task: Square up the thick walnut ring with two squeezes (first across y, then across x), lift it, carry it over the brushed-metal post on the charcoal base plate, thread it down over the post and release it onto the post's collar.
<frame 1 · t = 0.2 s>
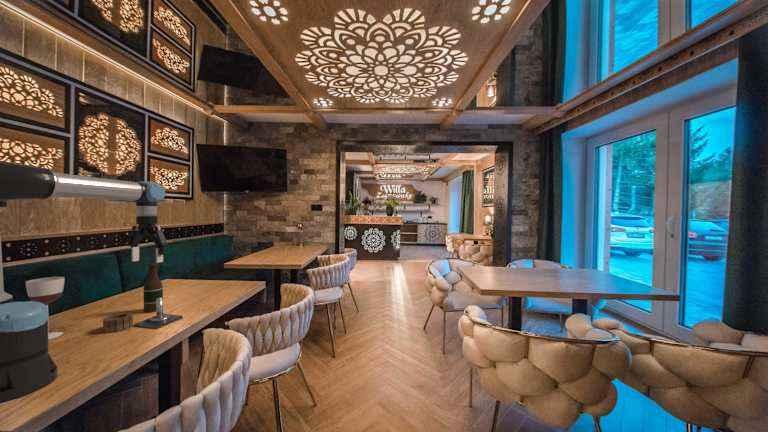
hand: (147, 261, 130), 27 cm above the table, fingers open, 13 cm apart
wineglass: (46, 337, 113), on the table
beer bottle: (153, 310, 143), on the table
post: (159, 322, 128), on the table
ring: (118, 328, 121), on the table
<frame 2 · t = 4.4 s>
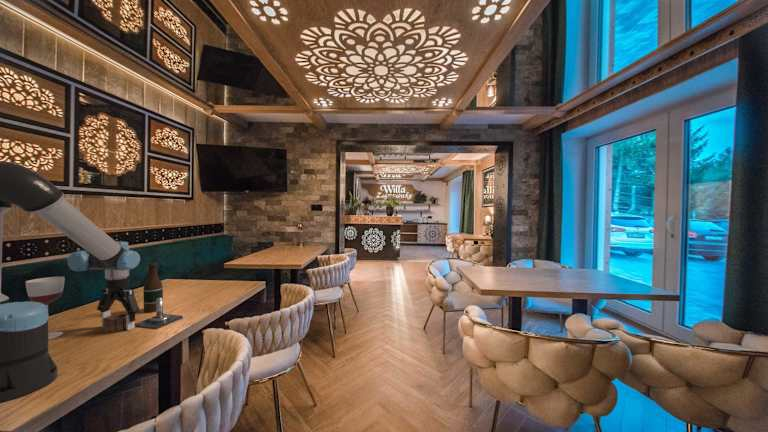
hand: (118, 327, 121), 0 cm above the table, fingers open, 12 cm apart
nothing on the table moved.
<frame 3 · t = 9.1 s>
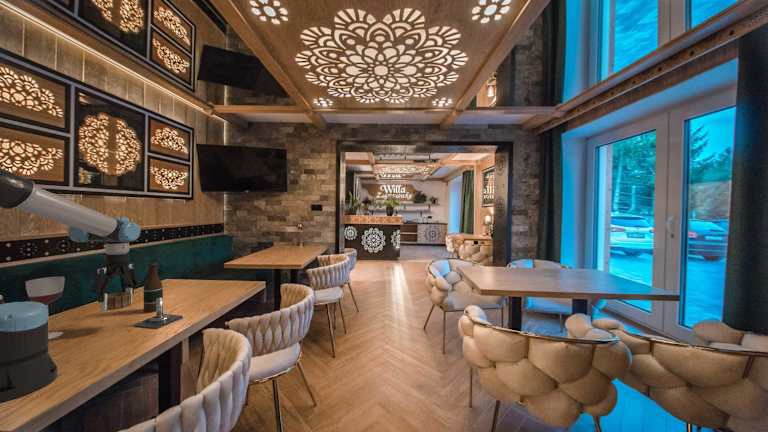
hand: (116, 306, 120), 10 cm above the table, fingers closed on ring, 9 cm apart
ring: (116, 306, 120), point 9 cm above the table, touching gripper
everything else where it was.
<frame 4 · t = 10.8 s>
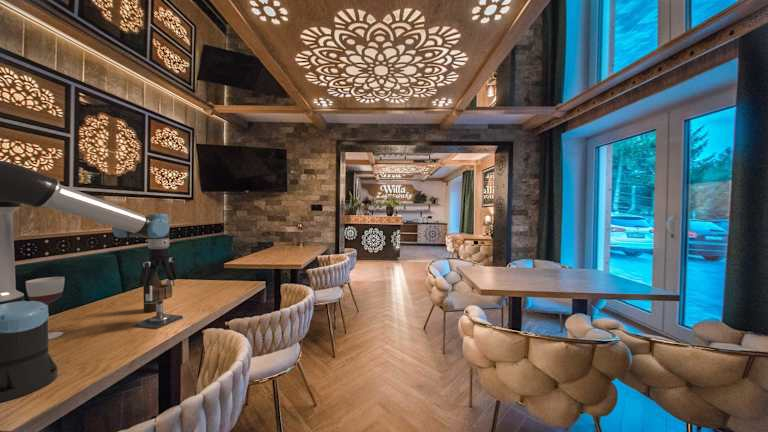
hand: (159, 297, 128), 11 cm above the table, fingers closed on ring, 9 cm apart
ring: (159, 297, 128), point 11 cm above the table, touching gripper
everything else where it was.
when the fingers open (4 cm above the table, at t = 13.0 s): ring drops 1 cm, resting on post.
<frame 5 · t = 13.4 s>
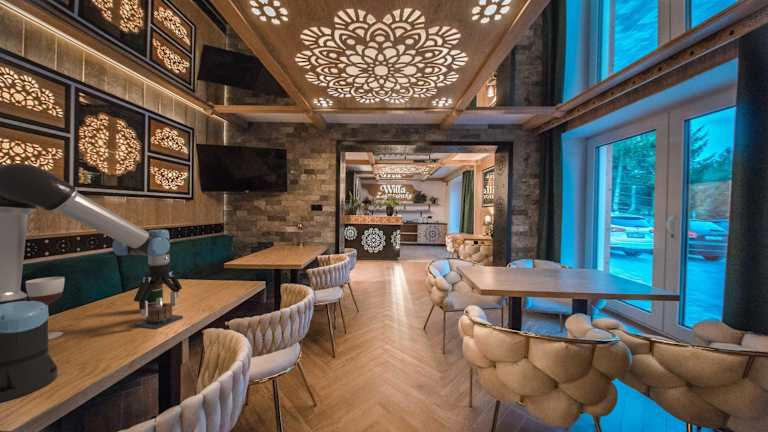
hand: (159, 310, 128), 5 cm above the table, fingers open, 13 cm apart
ring: (159, 317, 128), point 2 cm above the table, touching post
everything else where it was.
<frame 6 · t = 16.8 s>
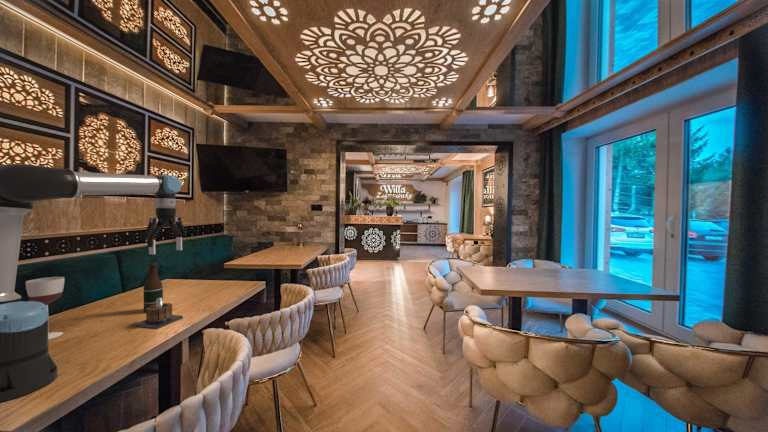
hand: (166, 252, 135), 31 cm above the table, fingers open, 13 cm apart
nothing on the table moved.
at the end: ring 0.1 cm from the post (horizontally); ring point 2.2 cm above the table; ring tilted 0° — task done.
